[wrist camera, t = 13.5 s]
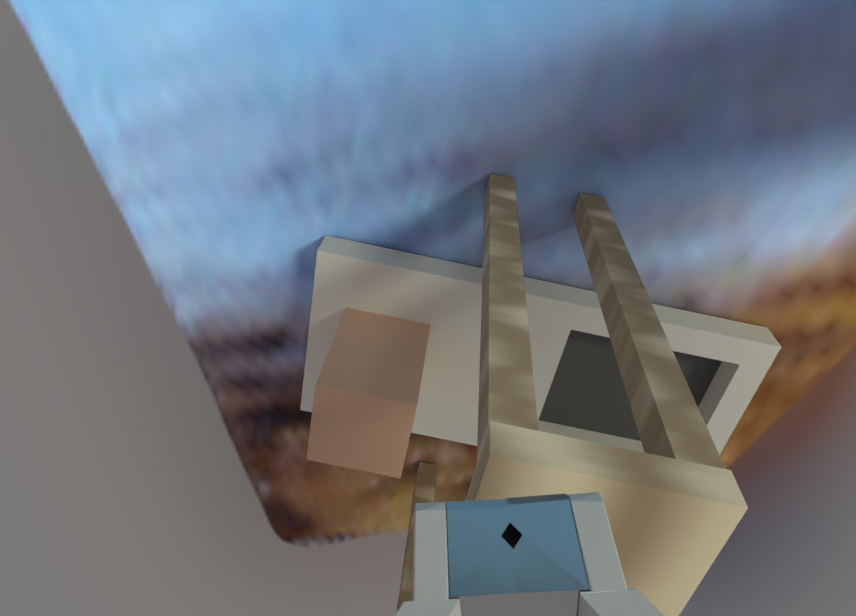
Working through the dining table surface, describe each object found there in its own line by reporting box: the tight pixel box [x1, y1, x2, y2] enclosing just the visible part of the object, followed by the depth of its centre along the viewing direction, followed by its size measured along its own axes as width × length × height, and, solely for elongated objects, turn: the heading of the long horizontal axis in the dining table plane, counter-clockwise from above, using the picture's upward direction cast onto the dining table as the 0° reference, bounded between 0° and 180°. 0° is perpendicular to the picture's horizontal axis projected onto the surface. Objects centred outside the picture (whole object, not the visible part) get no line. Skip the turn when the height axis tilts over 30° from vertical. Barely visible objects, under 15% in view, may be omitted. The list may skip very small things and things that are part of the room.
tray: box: [300, 236, 781, 455], centre depth 47 cm, size 32×14×2 cm, turn 79°
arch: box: [397, 173, 748, 616], centre depth 37 cm, size 8×28×26 cm, turn 169°
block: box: [306, 307, 430, 479], centre depth 42 cm, size 6×6×9 cm
